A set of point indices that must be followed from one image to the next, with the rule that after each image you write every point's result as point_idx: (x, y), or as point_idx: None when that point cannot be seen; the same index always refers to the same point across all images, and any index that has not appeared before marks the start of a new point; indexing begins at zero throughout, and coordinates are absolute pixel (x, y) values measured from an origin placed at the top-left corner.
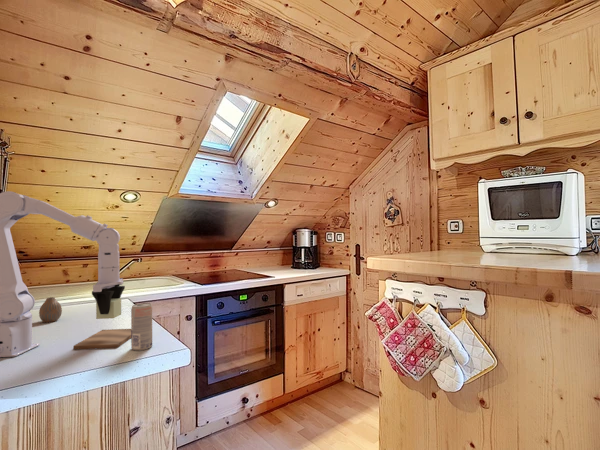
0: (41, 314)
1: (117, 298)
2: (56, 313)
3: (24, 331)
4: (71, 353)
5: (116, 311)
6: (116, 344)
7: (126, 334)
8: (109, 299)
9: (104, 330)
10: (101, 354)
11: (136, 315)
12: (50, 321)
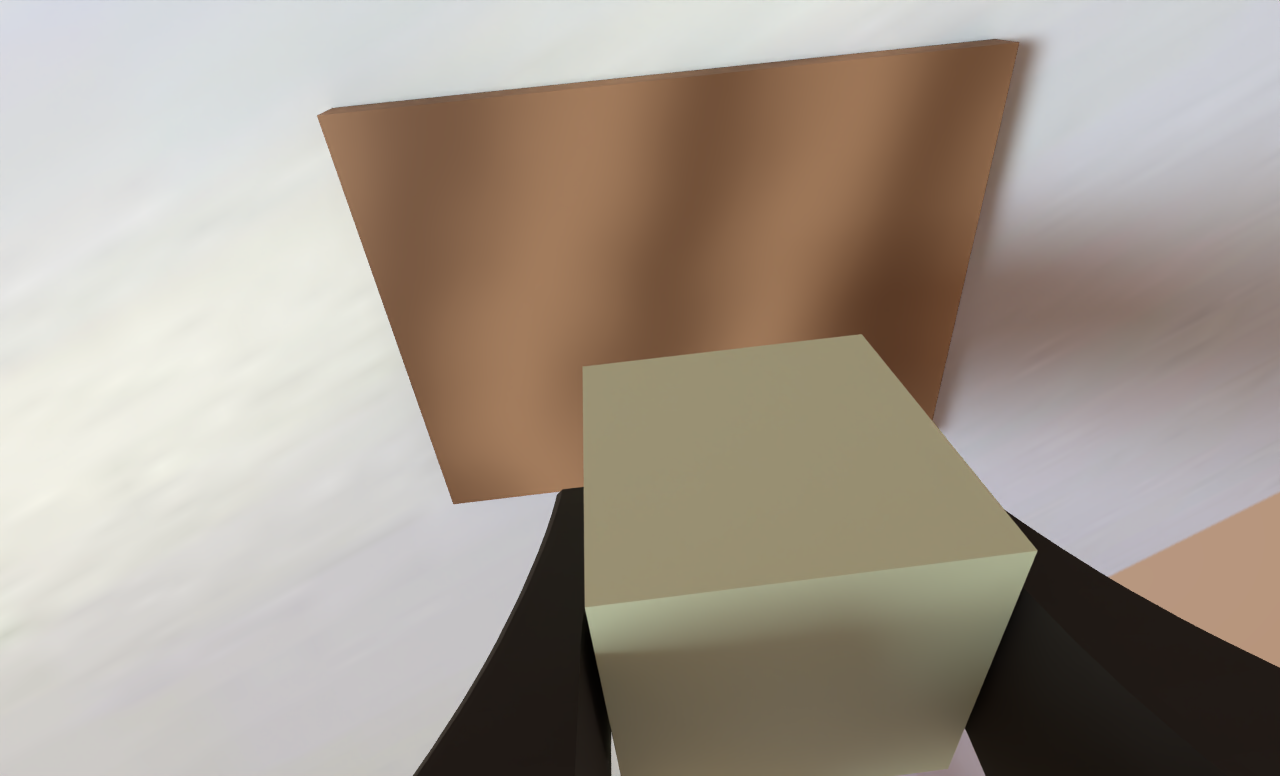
0: None
1: (606, 664)
2: None
3: (933, 771)
4: (1010, 387)
5: (788, 397)
6: (1012, 60)
7: (618, 159)
8: (1180, 641)
9: (474, 475)
10: (1163, 105)
11: None
12: None
